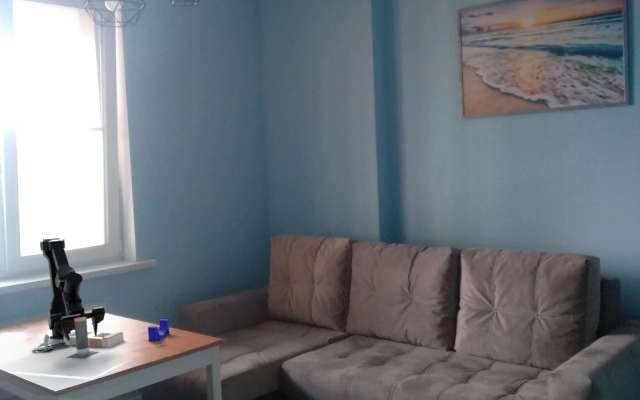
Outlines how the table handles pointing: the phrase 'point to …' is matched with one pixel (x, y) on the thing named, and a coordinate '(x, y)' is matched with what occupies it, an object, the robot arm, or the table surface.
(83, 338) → the plug
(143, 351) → the table surface
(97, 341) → the socket panel
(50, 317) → the robot arm
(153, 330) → the cable clip
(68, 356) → the mat
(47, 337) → the pacifier
